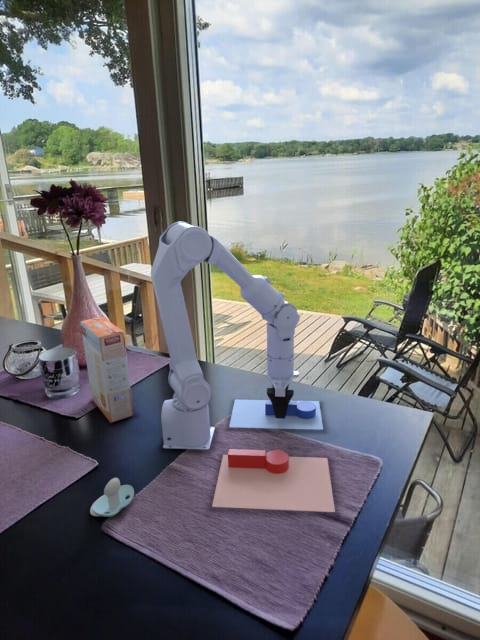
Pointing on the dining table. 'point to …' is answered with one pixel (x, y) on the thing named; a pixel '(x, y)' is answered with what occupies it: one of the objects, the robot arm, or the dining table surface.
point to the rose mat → (276, 487)
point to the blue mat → (270, 417)
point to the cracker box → (107, 368)
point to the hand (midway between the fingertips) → (280, 409)
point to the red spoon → (259, 460)
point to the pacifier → (112, 499)
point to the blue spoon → (294, 409)
